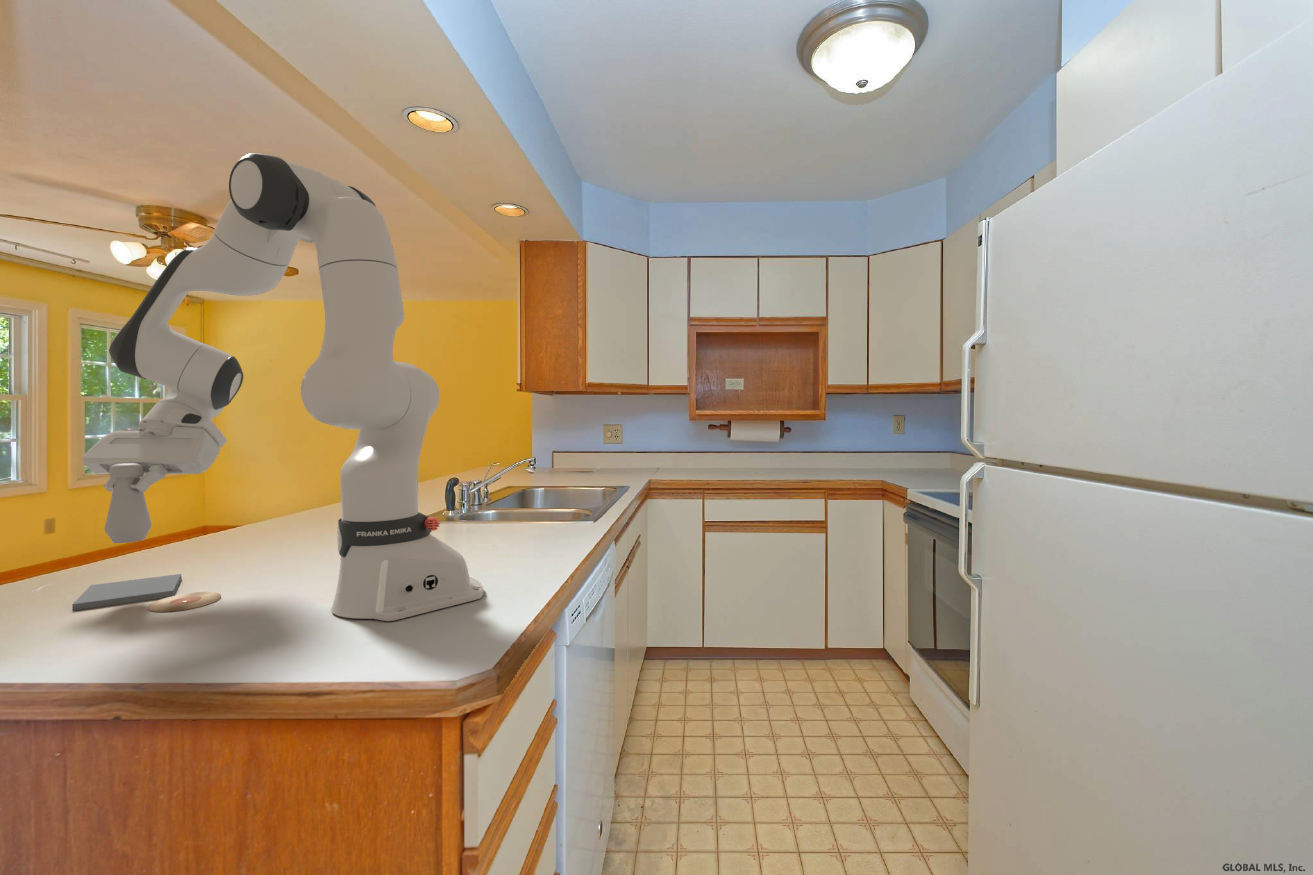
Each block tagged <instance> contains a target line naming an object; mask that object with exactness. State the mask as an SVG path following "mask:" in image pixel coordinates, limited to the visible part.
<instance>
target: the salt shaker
mask: <svg viewBox="0 0 1313 875" xmlns="http://www.w3.org/2000/svg"><path fill="white" fill-rule="evenodd" d="M108 474H109V477H111V478H114V479H115V482H114V489H113V492H111V499H110V503H109V507H108V511H107V517H106V521H105V525H104V532H105V533H106V534H107V537H109V539H110V540H111V541H112V543H113V544H127V543H135V542H141V541H143V540H145V539H146V538H147V536H148V534H149V531H150V530H151V528H152V521H151V517H150V513H149V509H148V505H147V502H146V498H145V494H144V493H145V492H136V491H134V490H133V489H131V488H130V485H131V483H133V481H134V480H135V478H141V477H142V476H144V475H145V474H144V467H143V466H142V465H141V464H137V463H123V464H116V465H113V466H111V467H110V470H109V473H108Z"/></svg>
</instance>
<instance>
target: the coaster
mask: <svg viewBox="0 0 1313 875" xmlns="http://www.w3.org/2000/svg"><path fill="white" fill-rule="evenodd" d="M221 598H222V595H221V593H219V592H216V591H198V592H197V591H196V592H188V593H181V594H177V595H176V594H175V595H174V596H172V597H166V598H160V599H159V600H155V601H154V602H151V603H150V604H149V605H148V610H149V611H150V612H155V613H156V612H157V613H168V612H169V613H172V612H180V611H185V610H191V609H192V610H193V609H197V608H201V607H205V606H209V605H210V604H213V603H215V602H218V601H219V600H220V599H221Z"/></svg>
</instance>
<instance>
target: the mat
mask: <svg viewBox="0 0 1313 875" xmlns="http://www.w3.org/2000/svg"><path fill="white" fill-rule="evenodd" d="M181 581H182V573H177V574H169V575H160V576H155V577H147V578H146V577H145V578H138V579H137V578H136V579H130V580H129V579H128V580H122V581H121V580H120V581H111V582H107V583H105V582H104V583H98V584H97V583H96V584H90V586H88V588H86V590H85V591H84V592H83V593H81V595H80V596H79V597H78V598H77V599H76V600H75V601H74V602H73V603H72V607H71V608H72V611H80V610H87V609H88V610H89V609H95V608H100V607H107V606H109V607H110V606H116V605H122V604H129V603H137V602H138V603H139V602H144V601H151V600H157V599H159V600H160V599H164V598H168V597H172V596H175V595H176V593H177V590H178V588H179V585H180V583H181Z"/></svg>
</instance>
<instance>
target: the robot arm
mask: <svg viewBox="0 0 1313 875" xmlns="http://www.w3.org/2000/svg"><path fill="white" fill-rule="evenodd" d="M228 190H229V191H228V192H229V196H230V199H229V200H228V203H227V204H226V206H225V207H224V209H223V211H222V213H221V216H220V217H219V220H218V221H217V224H216V226H215V228H214V231H213V233H212V235H211V237H210V238H209V239H208V241H206V243H204V244H203V245H201V246H200V247H187V248H185V249H183V250H181V251H180V252H179V253H178V254H176V255H174V257H173V258H172V259H171V260H170V262H168V264H167V265H166V267H165V268H164V269H163V271H162V272H161V274H160V275H159V276H158V277H157V279H156V280H155V282H154V283H153V285H152V286H151V288H150V289H149V291H148V292H147V293H146V295H145V297H144V298H143V299H142V301H141V303H140V304H139V305H138V307H137V308H136V309H135V311H134V313H133V314H132V316H131V317H130V318H129V319H128V320H127V322H126V323H125V324H124V326H123V327H121V329H120V330H118V332H117V333H116V335H115V336H114V337H113V339H112V341H111V343H110V346H109V349H108V352H109V355H110V358H111V359H112V361H113V363H114V364H115V366H116V368H118V370H119V371H120V372H121V373H125V374H128V375H130V376H133V377H137V378H140V379H144V380H149V381H151V382H155V383H156V384H159V385H162V386H164V387H167V388H168V389H167V392H166V395H165V396H164V397H163V398H161V399H160V400H158V401H157V402H155V404H154V405H153V406H152V408H151V409H150V410H149V411H148V412H147V414H146V415H145V416H144V417H143V418H142V419H141V421H140V422H139V423H138V428H129V427H128V428H122V429H121V430H115V431H112V432H109V433H107V434H106V435H104V436H103V437H102V438H101V439H99V440H98V441H97V442H96V443H95V444H94V445H93V446H91V448H90V449H89V450H87V451H86V452H85V453H84V454H83V455H82V458H81V459H82V460H81V461H82V464H83V465H84V466H86V467H87V469H88V470H90V471H91V472H93V473H94V474H109V470H110V467H111V466H113V465H116V464H123V463H137V464H141V465H142V466H143V467H144V475H143V476H142V477H139V478H135V480H134V481H133V483H131V485H130V488H131V489H133V490H134V491H136V492H143V493H145V492H147V490H149V488H150V486H152V485H154V484H155V483H158V482H159V481H161V480H163V479H164V478H165V477H166V475H167V474H169V475H171V474H172V475H200V474H202V473H204V472H206V471H207V470H208V469H210V467H212V465H213V464H214V462H215V461H216V459H217V457H219V456H218V455H219V454H220V452H221V448H222V447H224V446H225V445H226V443H227V441H228V440H227V438H226V436H225V435H224V433H223V432H222V431H221V429H219V428H218V426H217V425H216V424H215V423H214V422H213V420H214V419H215V418H216V417H218V416H219V415H220V414H221V412H222V411H223V410H224V409H225V407H227V406H228V405H230V404H231V402H232V401H233V399H234V398H235V397H236V395H237V394H238V392H239V391H240V389H241V387H242V385H243V382H244V372H243V369H242V367H241V365H240V363H239V361H238V359H237V358H236V356H233V355H231V354H230V353H228V352H226V351H223V350H222V349H219V348H217V347H215V346H212V345H209V344H208V343H206V344H205V343H203V342H201V341H199V340H196V339H194V338H192V337H189V336H187V335H185V334H182V333H180V332H178V331H176V330H174V329H173V328H172V327H171V326H170V324H169V321H170V320H171V319H172V317H173V315H174V314H175V313H176V311H177V310H178V308H179V306H180V305H181V303H183V301H184V299H185V298H186V296H187V295H188V294H189V293H191V292H209V293H210V292H211V293H217V294H223V295H224V294H225V295H229V296H238V297H245V296H246V297H251V296H252V297H253V296H257V295H258V296H259V295H263V294H265V293H268V292H271V291H272V290H274V289H275V288H276V287H278V285H279V283H281V281H282V279H283V277H284V275H285V273H286V272H287V269H288V268H289V265H290V262H291V261H292V258H293V255H294V253H295V250H296V247H297V245H298V244H299V242H300V241H304V242H307V243H311V244H315V249H316V256H317V257H316V258H317V265H318V272H319V279H320V286H321V294H322V302H323V308H324V309H323V310H324V332H323V340H322V344H321V348H320V352H319V355H318V357H317V358H316V360H314V362H313V363H312V364H311V365H310V366H308V368H307V369H306V371H305V372H304V374H303V378H302V380H301V382H300V383H301V385H300V395H301V400H302V403H303V406H304V408H305V410H306V411H307V413H309V415H310V416H311V417H312V418H314V419H315V420H317V421H318V422H320V423H323V424H325V425H329V426H333V427H336V428H340V429H343V430H344V429H345V430H353V431H354V430H359V431H358V434H357V438H356V442H355V445H354V448H353V450H352V452H351V453H350V455H349V457H348V458H347V459H346V460H345V461H344V463H343V464H342V466H341V469H340V471H339V474H340V479H339V480H340V481H339V482H340V514H341V515H340V516H341V517H340V518H339V519H338V522H337V525H338V527H337V530H336V532H337V551H338V553H339V555H340V560H339V563H340V564H339V571H338V572H339V574H338V579H337V586H336V592H335V596H334V599H333V603H332V606H331V612H332V613H333V614H334V615H335V616H339V617H342V618H346V619H347V618H348V619H365V620H366V619H371V620H372V619H374V620H379V621H384V622H391V621H392V622H393V621H397V620H402V619H405V618H409V617H413V616H417V615H421V614H426V613H429V612H434V611H437V610H440V609H446V608H448V607H453V606H455V605H456V606H457V605H460V604H465V603H469V602H472V601H476V600H480V599H481V598H482V597H483V596H484V587H483V585H482V583H481V582H479V580H477V579H475V578H474V577H471V576H470V573H469V569H468V565H467V563H466V560H465V557H464V556H463V555H462V554H461V553H460V552H459V551H457V550H456V549H454V548H453V547H451V546H450V545H448V544H446V543H445V542H443V541H442V540H440V539H438V538H437V537H436V536H434V535H433V534H431V533H432V531H433V532H434V531H436V530H438V529H439V527H440V525H441V523H440V520H438V518H437V517H434V516H428V515H426V514H424V513H421V512H419V463H420V458H421V452H422V447H423V443H424V439H425V435H426V432H427V428H428V424H429V422H430V420H431V418H432V416H433V415H434V414H435V413H436V412H437V409H438V408H439V404H440V399H441V398H440V397H441V394H440V393H441V392H440V388H439V385H438V383H437V382H436V380H435V379H434V378H433V377H432V375H430V374H429V373H428V372H427V371H424V370H423V369H421V368H420V367H417V366H415V365H414V364H411V363H408V362H402V361H396V360H394V355H393V354H394V344H395V343H394V342H395V337H396V332H397V330H398V329H399V327H401V326H402V324H403V323H404V319H405V310H404V303H403V296H402V292H401V291H402V290H401V283H400V278H399V270H398V265H397V259H396V254H395V250H394V246H393V241H392V239H391V236H390V231H389V229H388V225H387V223H386V220H385V219H384V216H383V213H382V212H381V211H380V209H379V208H378V207H377V206H376V204H375V202H374V201H373V200H372V199H371V198H370V197H369V196H368V195H367V194H365V193H364V192H362V191H361V190H359V189H357V188H355V187H354V186H350V185H346V184H344V183H343V182H340V181H338V180H337V179H335V178H332V177H330V176H328V175H325V174H324V173H322V172H321V171H319V170H316V169H313V168H310V167H308V166H304V165H302V164H298V163H294V162H291V161H287V160H284V159H282V157H279V156H276V155H271V154H267V153H258V152H257V153H256V152H255V153H254V152H252V153H248V154H245V155H243V156H242V157H240V159H238V161H236V163H235V164H234V166H233V167H232V169H231V172H230V175H229V179H228ZM114 482H115V479H114V478H111V477H110V476H109V479H108V480H107V481H106V483H105V484H104V489H106V491H108V492H110V493H112V492H113V489H114Z"/></svg>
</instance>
